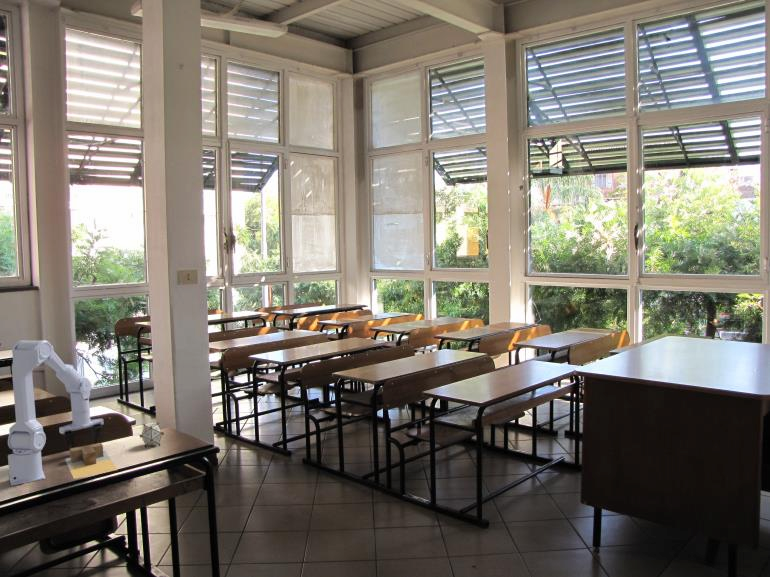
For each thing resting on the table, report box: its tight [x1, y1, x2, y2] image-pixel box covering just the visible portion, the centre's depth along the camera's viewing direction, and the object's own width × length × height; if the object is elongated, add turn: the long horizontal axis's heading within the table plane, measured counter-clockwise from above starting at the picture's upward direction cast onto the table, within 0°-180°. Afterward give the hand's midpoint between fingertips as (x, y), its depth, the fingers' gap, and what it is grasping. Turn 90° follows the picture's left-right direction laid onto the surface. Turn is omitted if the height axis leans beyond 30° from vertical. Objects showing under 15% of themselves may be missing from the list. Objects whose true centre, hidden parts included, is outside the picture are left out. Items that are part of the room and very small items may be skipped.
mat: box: [64, 450, 118, 480], centre depth 220 cm, size 13×24×1 cm, turn 32°
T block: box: [69, 442, 104, 466], centre depth 223 cm, size 10×10×4 cm
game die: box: [138, 422, 165, 448], centre depth 238 cm, size 9×8×10 cm
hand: (83, 448), depth 232 cm, fingers open, 7 cm apart
